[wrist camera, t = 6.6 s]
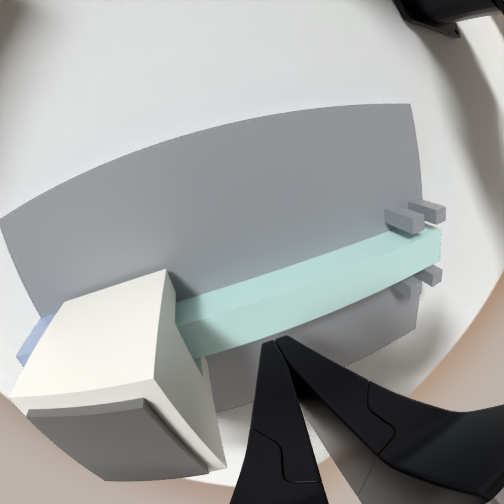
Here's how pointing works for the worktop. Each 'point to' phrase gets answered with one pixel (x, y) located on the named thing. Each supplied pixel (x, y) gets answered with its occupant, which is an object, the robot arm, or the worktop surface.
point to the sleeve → (123, 386)
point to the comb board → (249, 236)
